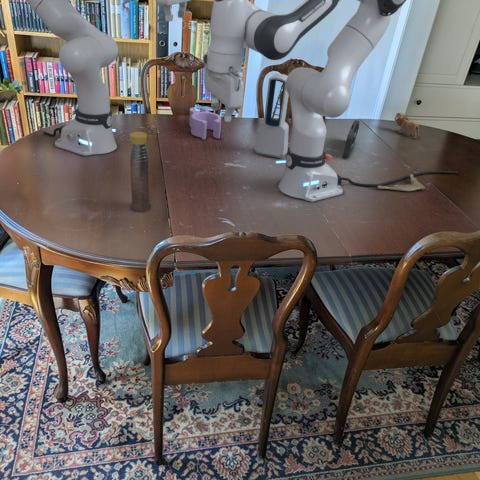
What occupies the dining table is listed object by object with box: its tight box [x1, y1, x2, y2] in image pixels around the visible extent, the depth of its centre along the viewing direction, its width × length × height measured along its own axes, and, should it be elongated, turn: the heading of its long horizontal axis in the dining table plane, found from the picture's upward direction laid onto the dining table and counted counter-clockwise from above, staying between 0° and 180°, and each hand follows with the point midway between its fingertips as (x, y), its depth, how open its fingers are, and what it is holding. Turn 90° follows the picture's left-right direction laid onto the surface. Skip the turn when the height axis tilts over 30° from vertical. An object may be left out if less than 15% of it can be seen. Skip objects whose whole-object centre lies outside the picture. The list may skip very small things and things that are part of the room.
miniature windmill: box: [271, 57, 293, 126], centre depth 207 cm, size 9×8×30 cm
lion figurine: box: [394, 112, 422, 139], centre depth 219 cm, size 15×5×9 cm, turn 50°
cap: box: [129, 131, 148, 145], centre depth 129 cm, size 5×5×2 cm
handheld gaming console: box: [342, 119, 361, 159], centre depth 194 cm, size 23×3×10 cm, turn 161°
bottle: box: [129, 143, 150, 212], centre depth 135 cm, size 5×5×22 cm
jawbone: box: [376, 173, 426, 193], centre depth 169 cm, size 9×20×2 cm, turn 126°
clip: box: [188, 106, 222, 140], centre depth 199 cm, size 20×12×7 cm, turn 23°
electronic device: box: [252, 73, 290, 160], centre depth 177 cm, size 12×8×30 cm, turn 71°
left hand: (175, 19), depth 144 cm, fingers open, 8 cm apart
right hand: (220, 115), depth 129 cm, fingers open, 8 cm apart
